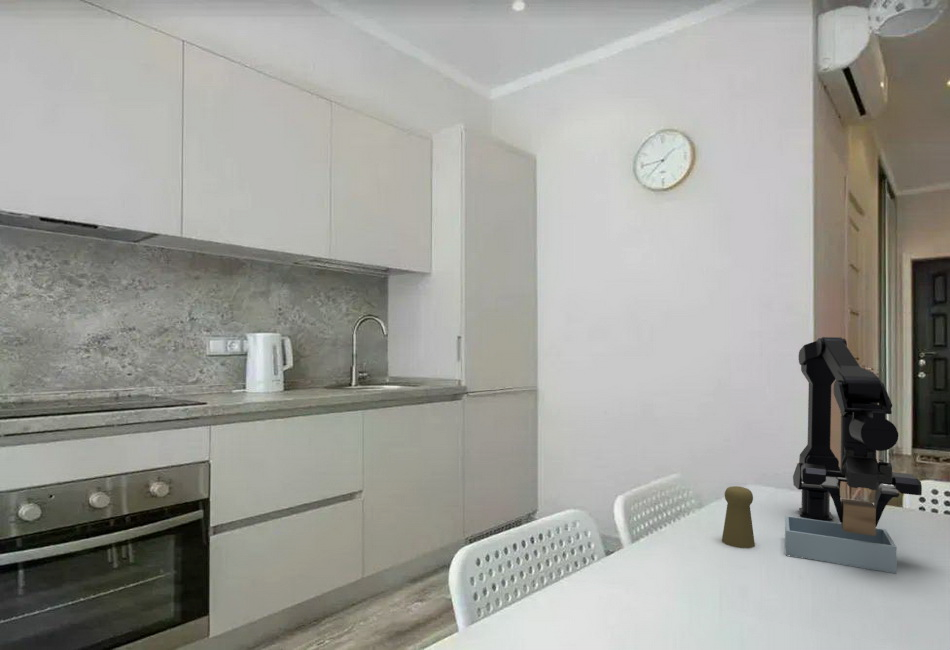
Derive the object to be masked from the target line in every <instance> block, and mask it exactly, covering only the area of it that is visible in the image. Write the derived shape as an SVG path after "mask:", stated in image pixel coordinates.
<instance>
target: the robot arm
mask: <svg viewBox="0 0 950 650" xmlns="http://www.w3.org/2000/svg"><path fill="white" fill-rule="evenodd" d="M798 363H799V365H800V370H801V373H802V375H803V376H804V377H805V378H804V379H806V380H807V382H808V396H807V397H808V399H807V400H808V401H807V402H808V403H807V444H806V446H805V447H804V449H803V450H802V451H801V452H800V453H799V457H798V458H799V462H798V463H796V467H795V470H794V473H793V475H792V480H793V486H794V487H795V488H796V489H797V490H801V507H799V509H798V510H799V511H798V512H799V516H800V517H801V518H808V519H815V520H823V521H833V519H834V518H833V516H832V512H831V511H830V505H831V503H830V502H831V499H832V503H833V504H834V506H835V511H836V513H837V517H838V520H839V523H841V522H843V512H842V505H841V482H843V483H844V482H845V483H846V485H847V486H848V487H850V488H853V489H858V488H859V489H860V488H862V489H869V490H871V491H874V492H875V494H874V501H873V502H874V503H873V505H874V506H875V508H876V528H878V524H879V522H880V520H881V517H882V515H883V512H884V510H885V508H886V507H887V505H888V504H889V502H890V501H891V500H892V499H893V498H900V494H903V495H911V496H913V495H914V496H922V494H923V490H922V488H923V487H922V481H920V479H918V478H917V476H915V475H914V473H906V472H905V473H904V472H897V471H893V465H892V463H891V462H885V461H883V462H882V461H878V460H877V452H878V451H879V452H882V451H884V452H885V451H888V450H890V449H891V448H893V447H894V446H895V445H896V444H897V443H898V440H899V432H898V428H897V427H896V425H895V424H894V423H893V422H892V421H890V420H889V419H886V415H892V414H893V413H892V412H893V411H892V408H893V402H892V400H891V398H890V395H889V394H888V391H887V388H886V387H885V384H884V382H882V381H881V378H880V377H879V376H878V375H876V374H875V373H874V372H873V371H870V370H868V369H865V368H862V367H861V366H860V363H858V361H857V359H856V358H855V356H854V355H853V353H852V352H851V350H850V349H849V347H848V343H847V340H846V338H842V337H839V336H837V337H835V336H822V337H820V338H818V339H816V341H813V342H809V343H806V344H804V345H802V347H801V348H800V349H799V352H798ZM832 385H833V396H834V398H835V400H836V403H837V405H838V408H839V410H840V461H839V459H838V457H836V456H835V453H834V452H833V450H832V448H831V430H832V429H831V427H832V426H831V425H832V424H831V423H832Z"/></svg>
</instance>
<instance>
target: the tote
mask: <svg viewBox="0 0 950 650" xmlns="http://www.w3.org/2000/svg"><path fill="white" fill-rule="evenodd" d="M784 521H785V522H784V543H785V544H784V545H785V547H784V548H785V556H787V555H790V556H789V557H793V556H797V557H796V558H799V557H803V558H802V559H805V558H809V559H808V560H811V559H815V560H814V561H817V560H821V561H820V562H823V561H828V562H827V563H830V562H833V563H832V564H836V563H837V564H838V565H845V566H850V567H854V568H855V567H857V568H862V569H866V568H867V569H868V570H872V571H873V570H874V571H879V572H886V573H892V574H897V545H896V543H895V542H894V540H893V539H892V537H891V536H890V533H889V532H888V530H887V529H885V528H878V527H876V536H873V535H866V534H859V533H852V532H845V531H843V528H842V526H841V522H834V521H829V520H822V519H815V518H807V517H798V516H797V517H796V516H789V515H785V516H784Z"/></svg>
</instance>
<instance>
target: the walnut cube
mask: <svg viewBox="0 0 950 650" xmlns="http://www.w3.org/2000/svg"><path fill="white" fill-rule="evenodd" d="M840 498H841V497H840ZM841 505H842V512H843V522H840V523H841V526H842V528H843V531H845V532H852V533H859V534H866V535H873V536H876V528H877V527H876V508H875V506H874V503H873V502H872V501H866V500H861V499H860V500H858V499H850V498H841Z"/></svg>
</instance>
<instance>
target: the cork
mask: <svg viewBox="0 0 950 650" xmlns="http://www.w3.org/2000/svg"><path fill="white" fill-rule="evenodd" d="M724 499H725V501H726V503H727V504H726V512H725V516H724V517H725V518H724V524H723V525H724V526H723V531H722V537H721V541H722V544H725V545H727V546H729V547H733V548H739V549H750V548H751V549H752V548H755V545H756V543H755V535H754V529H753V528H754V527H753V519H752V513H751V512H752V511H751V505H752V503H753V500H754V494H753V492H752V491H751V490H750V489H749V488H747V487H742V486H739V485H738V486H737V485H736V486H728V487H726V489H725V491H724Z"/></svg>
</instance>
